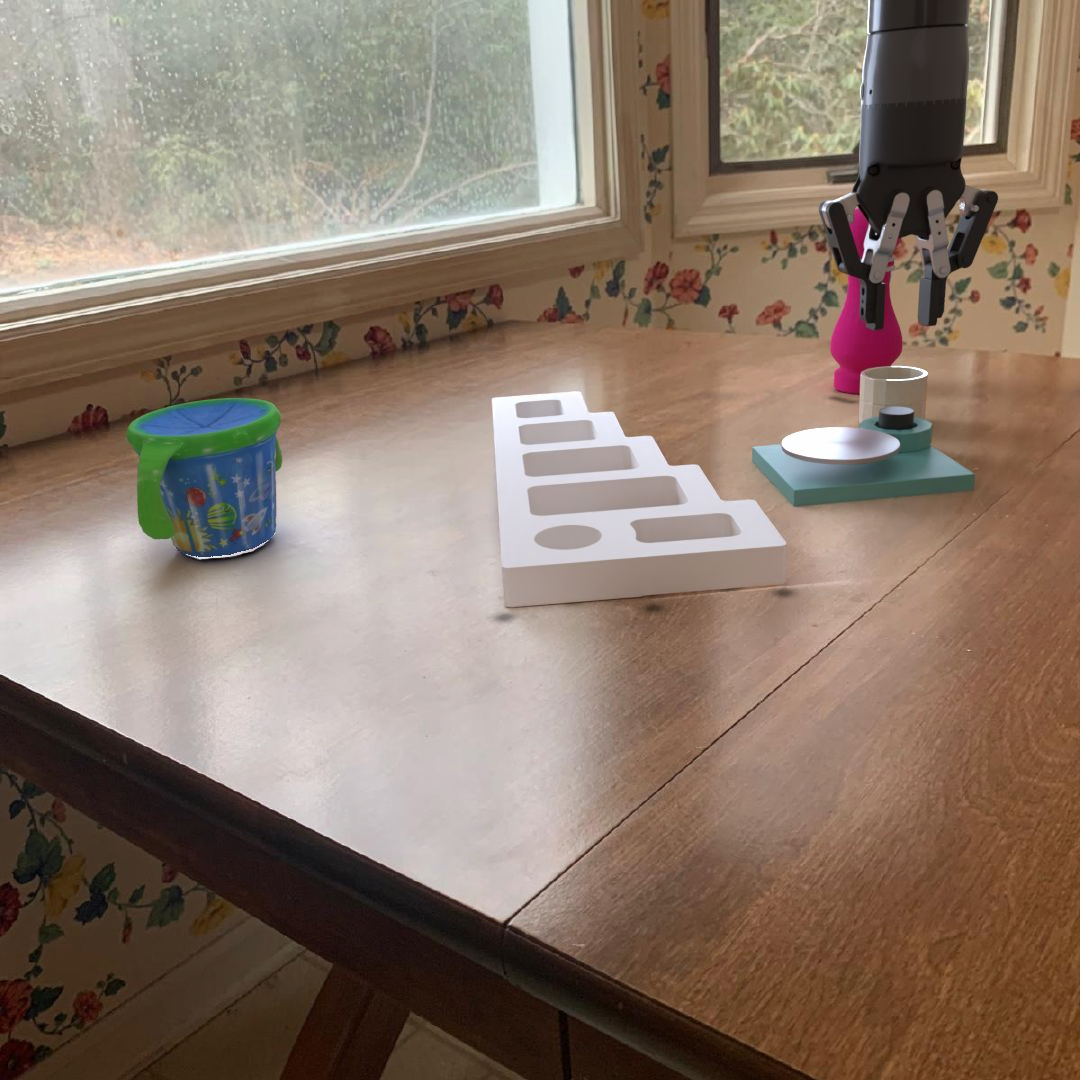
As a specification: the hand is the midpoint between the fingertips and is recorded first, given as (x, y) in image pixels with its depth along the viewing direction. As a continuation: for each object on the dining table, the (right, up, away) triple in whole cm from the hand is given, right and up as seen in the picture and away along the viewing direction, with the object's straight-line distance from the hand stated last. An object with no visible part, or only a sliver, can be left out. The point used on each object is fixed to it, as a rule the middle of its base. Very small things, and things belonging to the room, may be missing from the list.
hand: (901, 325), depth 88 cm
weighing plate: (-5, -10, -2) cm, 12 cm away
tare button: (+1, -8, +3) cm, 9 cm away
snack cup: (-53, -18, -5) cm, 56 cm away
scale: (-3, -12, 0) cm, 13 cm away
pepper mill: (+5, -1, +27) cm, 28 cm away
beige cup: (+3, -7, +13) cm, 15 cm away
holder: (-24, -13, +2) cm, 27 cm away
